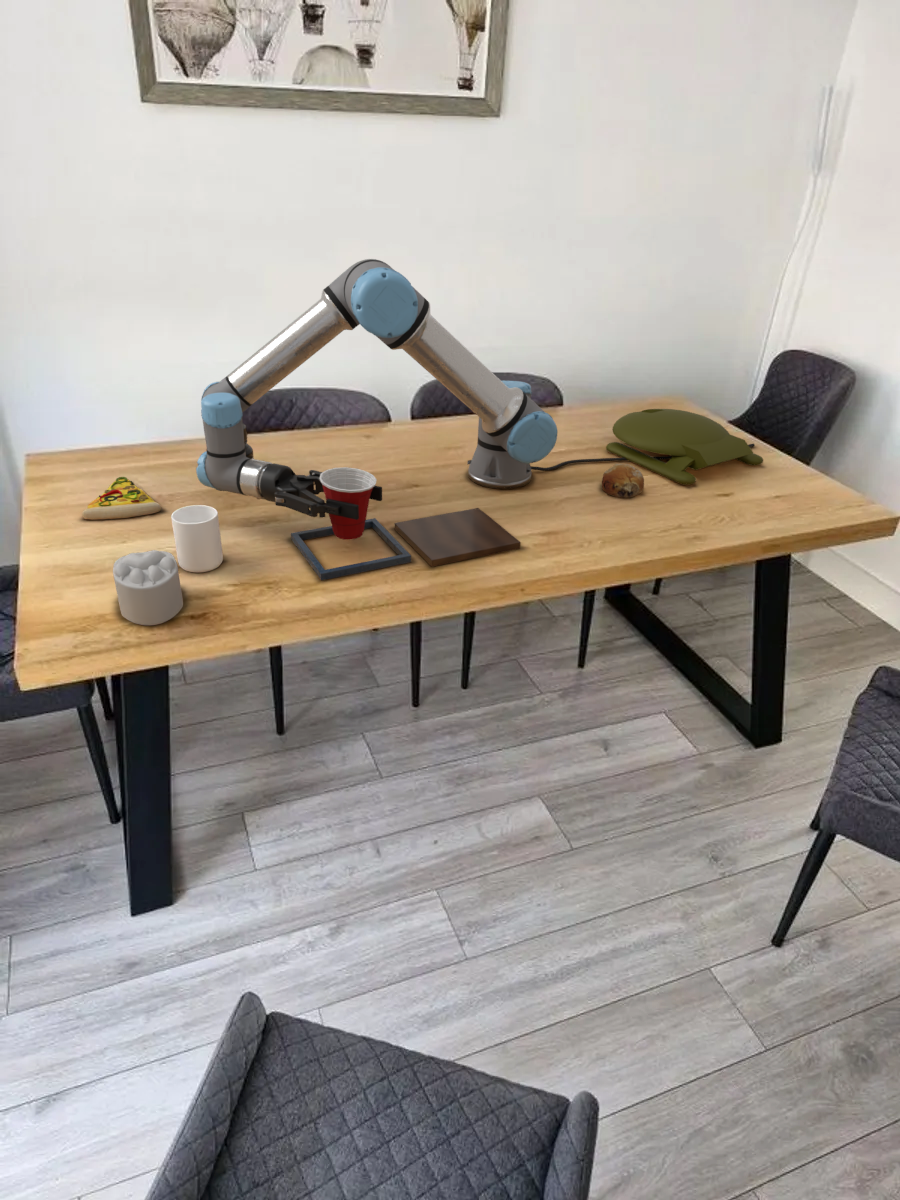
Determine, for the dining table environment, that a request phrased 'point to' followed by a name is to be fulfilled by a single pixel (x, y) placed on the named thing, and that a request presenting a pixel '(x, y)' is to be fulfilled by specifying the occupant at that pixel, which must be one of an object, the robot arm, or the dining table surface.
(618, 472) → the bread roll
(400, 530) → the walnut board
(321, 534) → the square frame
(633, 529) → the dining table surface
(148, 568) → the egg container
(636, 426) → the spaceship
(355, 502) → the plastic cup
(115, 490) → the pizza slice
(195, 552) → the mug
